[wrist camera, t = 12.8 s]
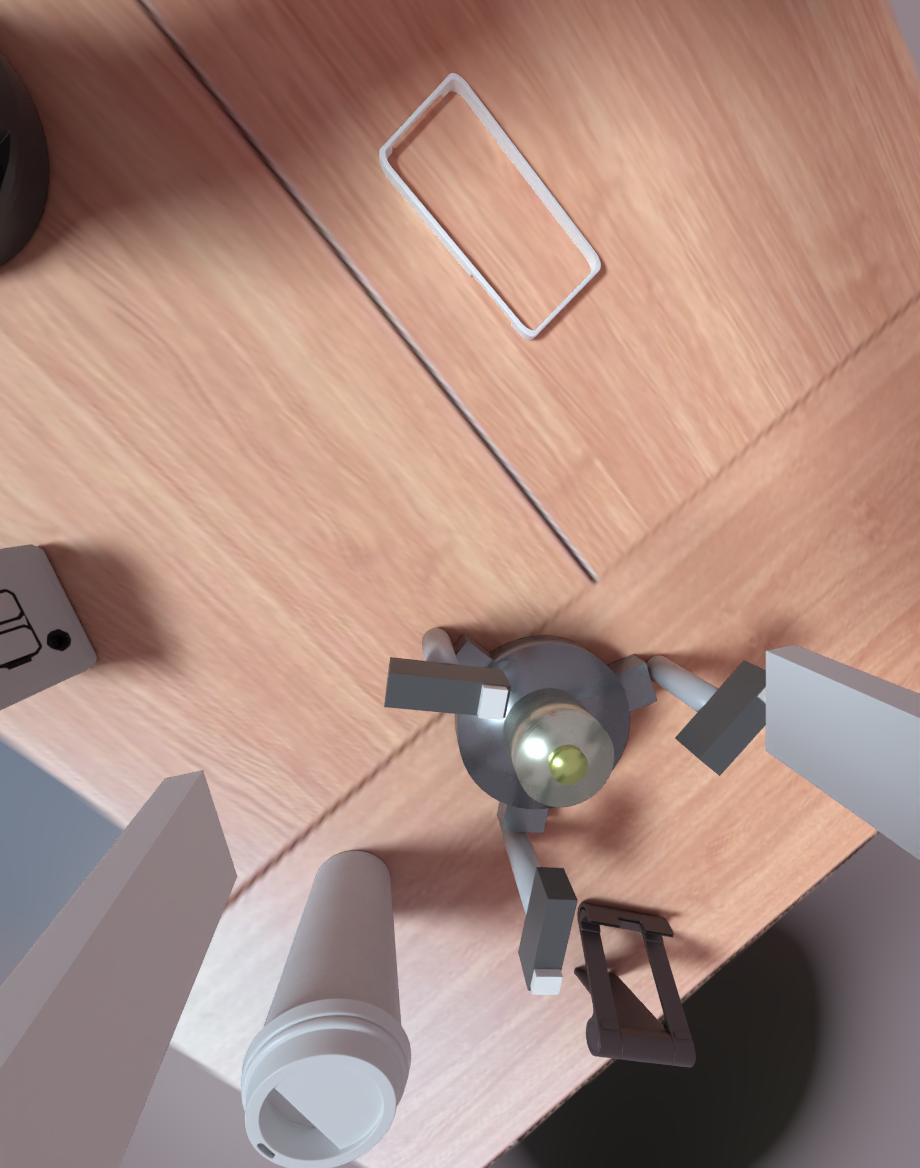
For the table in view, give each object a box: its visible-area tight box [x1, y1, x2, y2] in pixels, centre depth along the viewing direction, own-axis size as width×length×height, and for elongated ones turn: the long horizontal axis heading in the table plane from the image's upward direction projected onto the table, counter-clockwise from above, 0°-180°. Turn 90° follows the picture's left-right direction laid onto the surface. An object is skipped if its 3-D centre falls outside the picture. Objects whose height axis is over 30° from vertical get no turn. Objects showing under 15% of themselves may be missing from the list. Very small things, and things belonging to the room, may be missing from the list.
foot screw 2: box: [503, 831, 577, 995], centre depth 34 cm, size 7×2×11 cm, turn 171°
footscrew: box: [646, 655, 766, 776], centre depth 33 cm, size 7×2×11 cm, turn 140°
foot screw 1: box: [384, 628, 511, 720], centre depth 30 cm, size 7×2×11 cm, turn 81°
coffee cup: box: [241, 851, 411, 1168], centre depth 32 cm, size 10×10×15 cm
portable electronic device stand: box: [574, 903, 695, 1067], centre depth 39 cm, size 9×8×8 cm
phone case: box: [379, 73, 601, 341], centre depth 31 cm, size 7×1×15 cm
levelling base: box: [453, 634, 657, 833], centre depth 34 cm, size 18×16×8 cm
